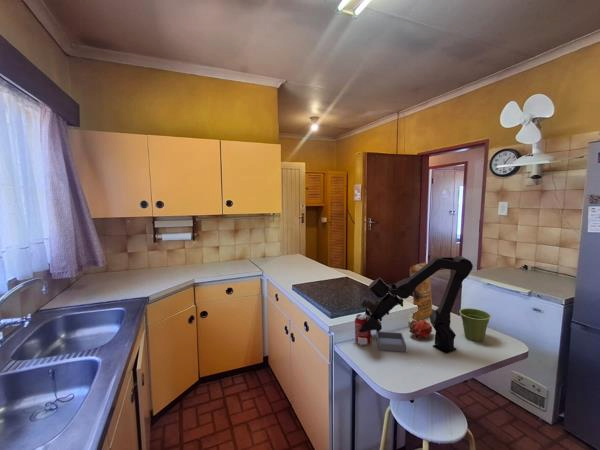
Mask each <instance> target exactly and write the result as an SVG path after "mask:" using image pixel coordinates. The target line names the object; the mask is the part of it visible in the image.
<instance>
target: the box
mask: <svg viewBox="0 0 600 450" xmlns="http://www.w3.org/2000/svg"><path fill="white" fill-rule="evenodd" d="M375 331H376V330H375ZM375 334H376V335H375V337H376V346H377V351H378V352H390V353H391V352H392V353H404V354H406V353H407V344H406V341H405V338H404V335H403V333H402V332H392V331H381V330H380V331H379V332H377V331H376V332H375Z"/></svg>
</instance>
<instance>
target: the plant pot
mask: <svg viewBox="0 0 600 450" xmlns="http://www.w3.org/2000/svg"><path fill="white" fill-rule="evenodd" d="M458 311H459V314H460V317H461V320H462V326H463V332H464V333H463V334H464V337H465V338H466V339H467V340H470V341H475V342H477V343H478V342H483V341H484V340H485V337H486V336H485V335H486V333H487V328H488V325H489V321H490V319H492V316H491V314H490V313H488V312H487V311H485V310H481V309H477V308H472V307H471V308H469V307H468V308H467V307H466V308H465V307H464V308H461V309H459V310H458Z"/></svg>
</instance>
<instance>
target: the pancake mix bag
mask: <svg viewBox="0 0 600 450" xmlns="http://www.w3.org/2000/svg"><path fill="white" fill-rule="evenodd" d="M427 264H428V262H427V261H423V262H421V263H417V264H415V265H411V266H410V268H409V270H408V271H409V277H411V276H412V275H413V274H415V273H416V272H417V271H419V270H420V269H421V268H423V267H424V266H425V265H427ZM412 298H413V299H412V300H413V301H412V302H413V303H412V305H413V304H414V305H417V306H418V311H417V312H415V313H413V312H412V319H413V320H415V321H417V320H420V321H422V320H425V319H426V318H429V316H430V315H431V313H432V309H433V303H432V302H433V301H432V285H431V276H430V277H429V278H427V279H426V280H425V281H423V282H422V283H421V284H419V285H418V286H417V287H416V289H415V290H414V292H413V293H412Z"/></svg>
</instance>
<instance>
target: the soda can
mask: <svg viewBox="0 0 600 450" xmlns="http://www.w3.org/2000/svg"><path fill="white" fill-rule="evenodd" d="M366 317H368V315H366V314H365V313H359V314H356V316H355V319H354V335H355V336H354V337H355V340H354V341H355V343H356V344H357V345H360V346H364V347H365V346H368V345H370V344H371V343H372V330H371V331H366V332H362V333H360V332H359V330H360V328H361V327H362V326H363V325H364V324H365V322H366Z"/></svg>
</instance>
